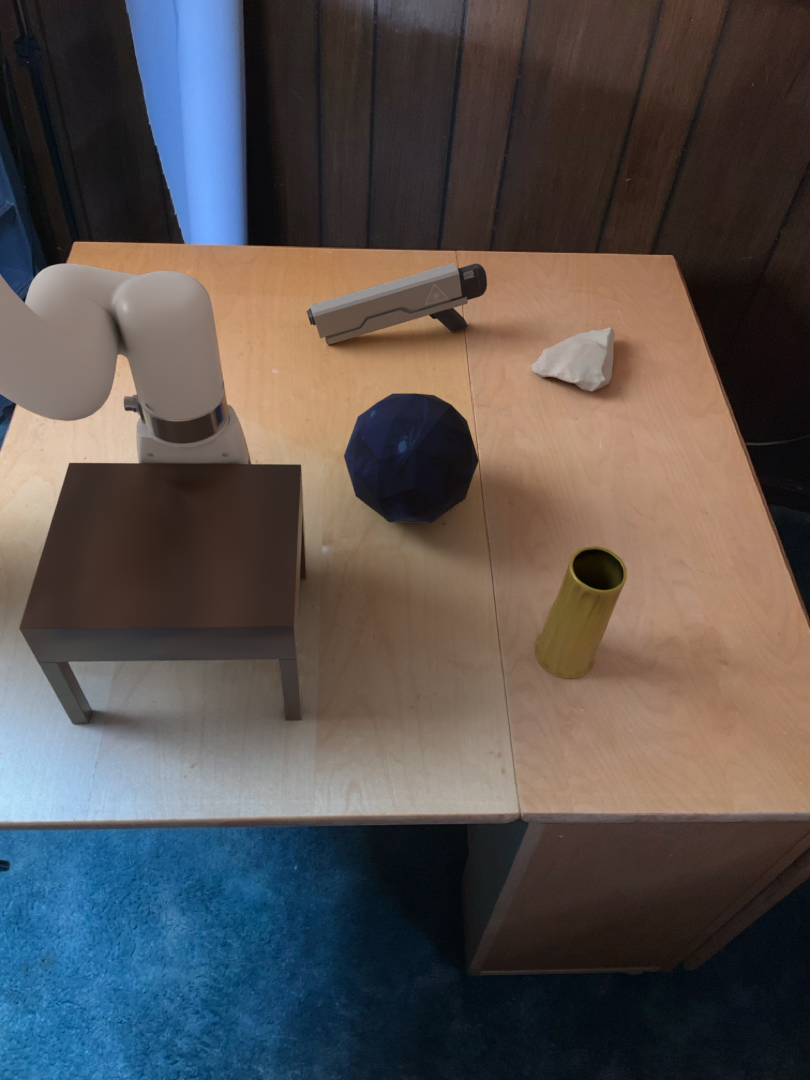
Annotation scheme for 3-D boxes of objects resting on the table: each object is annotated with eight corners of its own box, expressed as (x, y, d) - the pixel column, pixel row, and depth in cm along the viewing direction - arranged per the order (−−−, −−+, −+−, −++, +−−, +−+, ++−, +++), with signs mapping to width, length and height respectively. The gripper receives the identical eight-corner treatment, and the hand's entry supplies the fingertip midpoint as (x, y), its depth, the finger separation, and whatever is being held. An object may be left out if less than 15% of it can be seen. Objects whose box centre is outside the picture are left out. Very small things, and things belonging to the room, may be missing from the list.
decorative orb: (363, 547, 83) (449, 434, 77) (298, 456, 91) (372, 347, 85) (447, 558, 94) (528, 460, 88) (383, 476, 101) (453, 380, 96)
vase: (584, 625, 85) (620, 539, 74) (601, 676, 81) (642, 593, 70) (528, 630, 84) (556, 544, 73) (542, 682, 80) (574, 599, 69)
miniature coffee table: (72, 724, 74) (18, 628, 62) (111, 556, 87) (72, 449, 74) (301, 720, 76) (293, 626, 64) (307, 556, 88) (301, 451, 76)
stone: (528, 348, 108) (582, 302, 116) (522, 373, 111) (575, 326, 119) (597, 382, 104) (648, 332, 112) (589, 407, 107) (639, 356, 115)
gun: (492, 322, 116) (487, 263, 108) (325, 372, 115) (307, 316, 107) (487, 312, 117) (481, 252, 109) (322, 361, 117) (304, 305, 109)
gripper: (92, 436, 70) (136, 565, 84) (266, 436, 71) (280, 563, 85) (107, 380, 75) (146, 511, 89) (270, 381, 76) (283, 510, 90)
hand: (212, 537), depth 87 cm, fingers closed
